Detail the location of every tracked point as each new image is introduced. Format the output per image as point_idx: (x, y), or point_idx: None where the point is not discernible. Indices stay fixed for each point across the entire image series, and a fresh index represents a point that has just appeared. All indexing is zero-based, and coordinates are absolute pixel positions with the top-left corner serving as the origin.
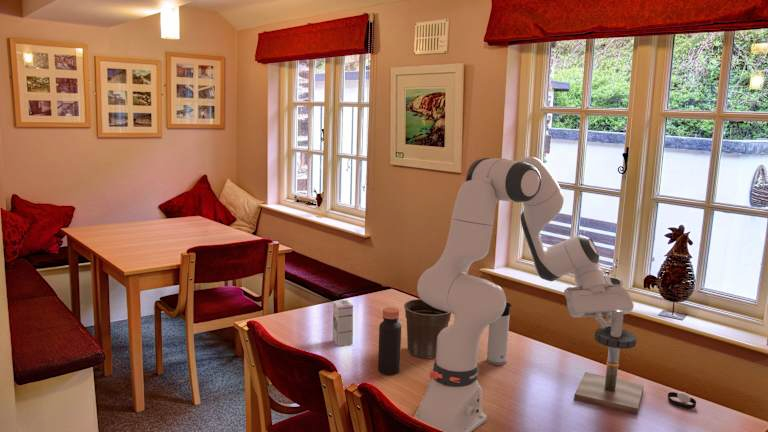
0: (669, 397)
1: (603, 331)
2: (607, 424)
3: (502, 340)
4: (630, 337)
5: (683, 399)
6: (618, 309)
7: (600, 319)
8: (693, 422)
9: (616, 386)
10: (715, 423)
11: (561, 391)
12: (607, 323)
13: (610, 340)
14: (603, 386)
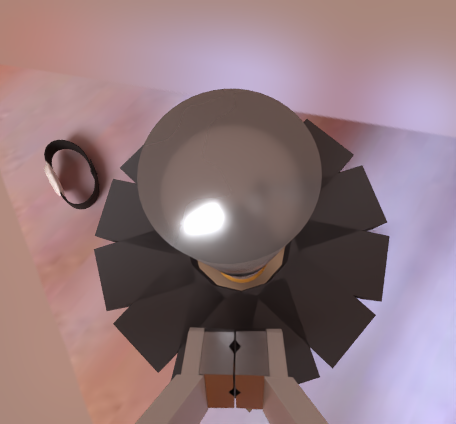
0: (94, 189)
1: (297, 314)
2: (343, 123)
3: None
4: None
5: (59, 182)
6: (173, 239)
7: (313, 416)
8: (122, 96)
9: (209, 276)
10: (74, 84)
11: (382, 323)
12: (251, 352)
13: (342, 148)
14: (252, 285)
